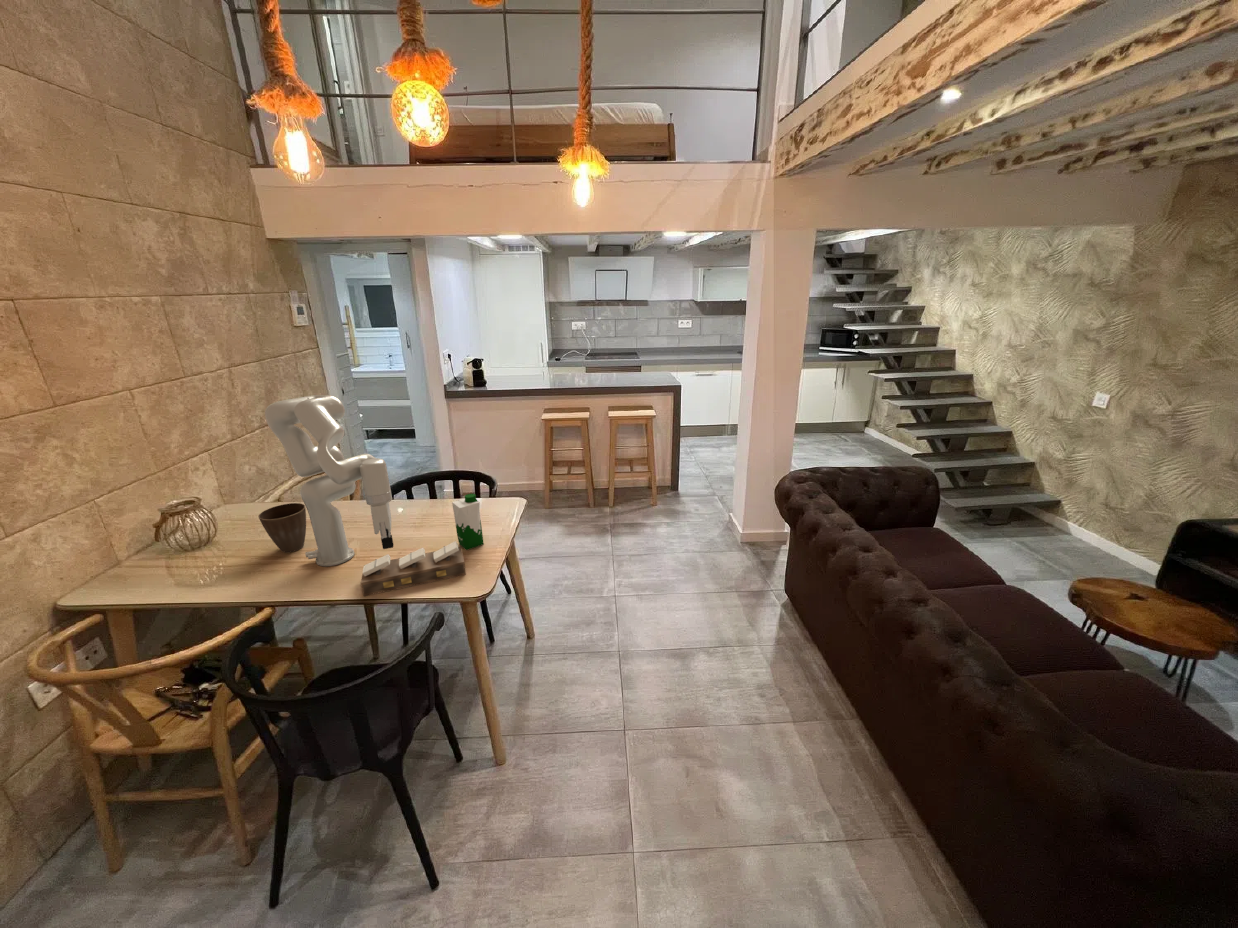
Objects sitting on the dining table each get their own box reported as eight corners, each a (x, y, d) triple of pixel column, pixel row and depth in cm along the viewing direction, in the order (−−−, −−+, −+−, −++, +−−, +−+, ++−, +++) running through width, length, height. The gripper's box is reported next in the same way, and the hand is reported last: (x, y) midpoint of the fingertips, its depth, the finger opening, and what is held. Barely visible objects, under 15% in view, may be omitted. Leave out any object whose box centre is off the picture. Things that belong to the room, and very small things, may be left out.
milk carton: (486, 544, 188) (481, 497, 181) (464, 552, 182) (457, 503, 176) (477, 536, 194) (471, 490, 188) (455, 544, 189) (448, 496, 182)
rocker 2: (401, 569, 162) (398, 565, 161) (401, 561, 166) (399, 558, 166) (425, 557, 164) (422, 553, 163) (424, 550, 168) (422, 546, 168)
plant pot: (292, 559, 180) (282, 520, 175) (259, 556, 183) (248, 517, 178) (323, 540, 194) (314, 504, 189) (292, 537, 197) (282, 501, 192)
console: (363, 596, 156) (359, 580, 154) (366, 577, 167) (363, 562, 165) (466, 574, 167) (463, 559, 165) (462, 558, 178) (460, 543, 176)
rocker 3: (435, 562, 166) (433, 559, 165) (435, 555, 170) (433, 552, 170) (458, 550, 167) (456, 546, 167) (457, 543, 172) (455, 540, 171)
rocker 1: (364, 576, 158) (362, 572, 157) (366, 568, 162) (363, 565, 162) (389, 564, 160) (387, 560, 159) (390, 557, 164) (388, 553, 164)
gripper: (367, 490, 160) (376, 539, 166) (364, 507, 147) (374, 560, 153) (391, 487, 163) (400, 535, 169) (391, 503, 150) (400, 555, 156)
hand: (388, 547), depth 161 cm, fingers closed
